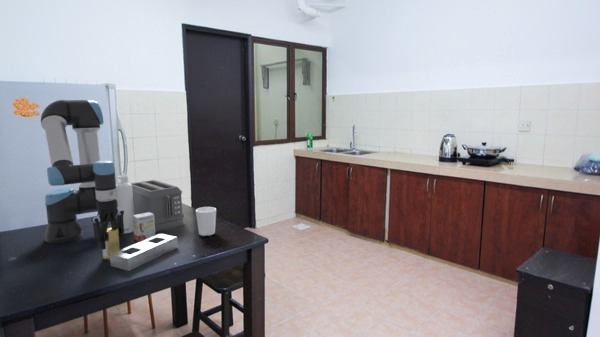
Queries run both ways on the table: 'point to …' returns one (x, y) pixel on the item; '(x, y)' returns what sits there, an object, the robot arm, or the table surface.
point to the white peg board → (143, 251)
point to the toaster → (158, 202)
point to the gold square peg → (112, 241)
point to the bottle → (125, 202)
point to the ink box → (143, 226)
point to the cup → (206, 220)
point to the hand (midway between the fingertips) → (111, 253)
